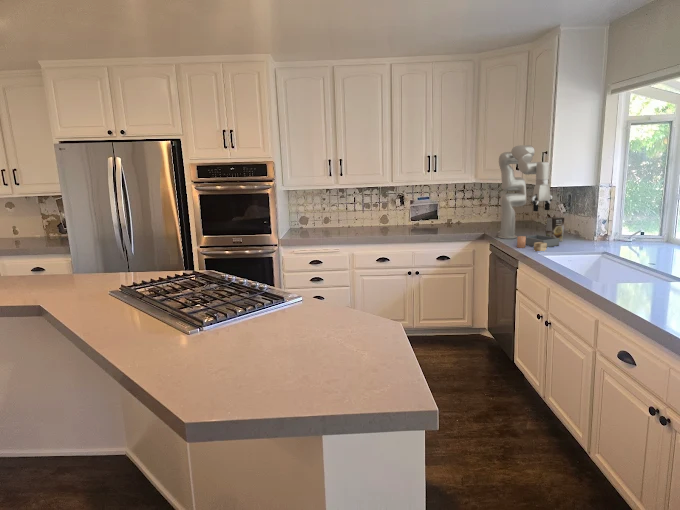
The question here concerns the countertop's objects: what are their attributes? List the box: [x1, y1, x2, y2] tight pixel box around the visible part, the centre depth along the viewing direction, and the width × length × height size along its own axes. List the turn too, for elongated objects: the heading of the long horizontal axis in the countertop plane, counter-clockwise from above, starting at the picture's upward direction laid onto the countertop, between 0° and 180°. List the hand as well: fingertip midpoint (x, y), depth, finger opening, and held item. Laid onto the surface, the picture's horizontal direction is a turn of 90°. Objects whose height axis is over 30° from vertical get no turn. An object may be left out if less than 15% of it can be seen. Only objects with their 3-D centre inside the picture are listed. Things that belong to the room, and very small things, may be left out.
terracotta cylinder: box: [516, 235, 527, 249], centre depth 287 cm, size 5×5×7 cm
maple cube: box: [533, 242, 548, 252], centre depth 276 cm, size 5×5×5 cm
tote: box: [525, 234, 560, 248], centre depth 293 cm, size 18×14×5 cm
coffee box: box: [545, 216, 565, 243], centre depth 302 cm, size 9×6×16 cm
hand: (541, 210), depth 277 cm, fingers open, 9 cm apart
